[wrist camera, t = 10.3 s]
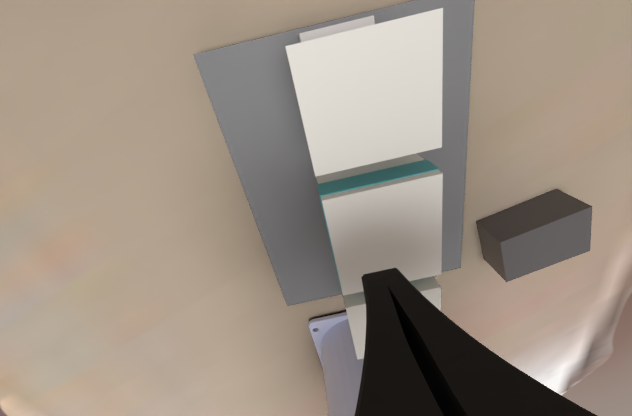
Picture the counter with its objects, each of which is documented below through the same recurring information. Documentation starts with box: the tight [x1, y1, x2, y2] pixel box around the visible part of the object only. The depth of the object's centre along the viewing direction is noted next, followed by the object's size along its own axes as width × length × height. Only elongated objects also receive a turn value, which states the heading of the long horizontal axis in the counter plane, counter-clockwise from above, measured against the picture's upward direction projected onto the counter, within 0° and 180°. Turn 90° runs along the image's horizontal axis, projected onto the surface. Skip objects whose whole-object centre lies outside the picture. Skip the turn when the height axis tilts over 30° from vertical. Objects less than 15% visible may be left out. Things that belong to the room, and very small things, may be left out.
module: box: [316, 153, 443, 296], centre depth 15 cm, size 6×5×5 cm
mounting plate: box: [194, 0, 475, 360], centre depth 16 cm, size 18×14×7 cm
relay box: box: [476, 189, 592, 282], centre depth 21 cm, size 4×6×3 cm, turn 115°
